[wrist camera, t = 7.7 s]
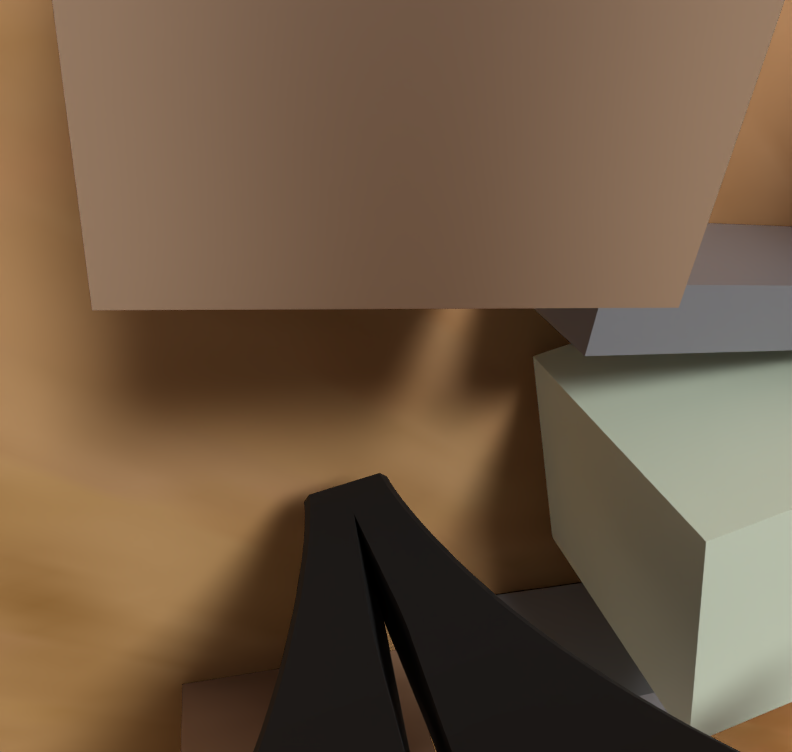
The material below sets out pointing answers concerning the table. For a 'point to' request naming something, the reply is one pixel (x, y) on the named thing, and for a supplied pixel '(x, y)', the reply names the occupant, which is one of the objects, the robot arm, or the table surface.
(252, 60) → the walnut block
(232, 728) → the walnut block
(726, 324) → the corral
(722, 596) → the sage block
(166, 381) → the table surface
